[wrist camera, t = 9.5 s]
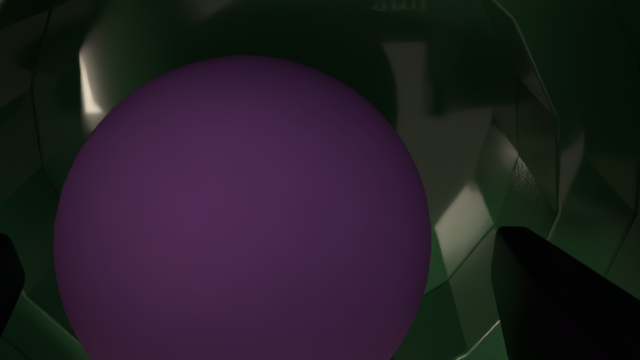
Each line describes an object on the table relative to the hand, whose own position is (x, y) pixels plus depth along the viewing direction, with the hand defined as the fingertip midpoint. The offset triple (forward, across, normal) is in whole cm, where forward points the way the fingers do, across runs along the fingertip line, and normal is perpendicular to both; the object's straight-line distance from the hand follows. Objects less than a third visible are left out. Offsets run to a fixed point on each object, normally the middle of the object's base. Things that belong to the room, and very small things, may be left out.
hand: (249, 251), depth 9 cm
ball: (0, 0, 0) cm, 0 cm away
